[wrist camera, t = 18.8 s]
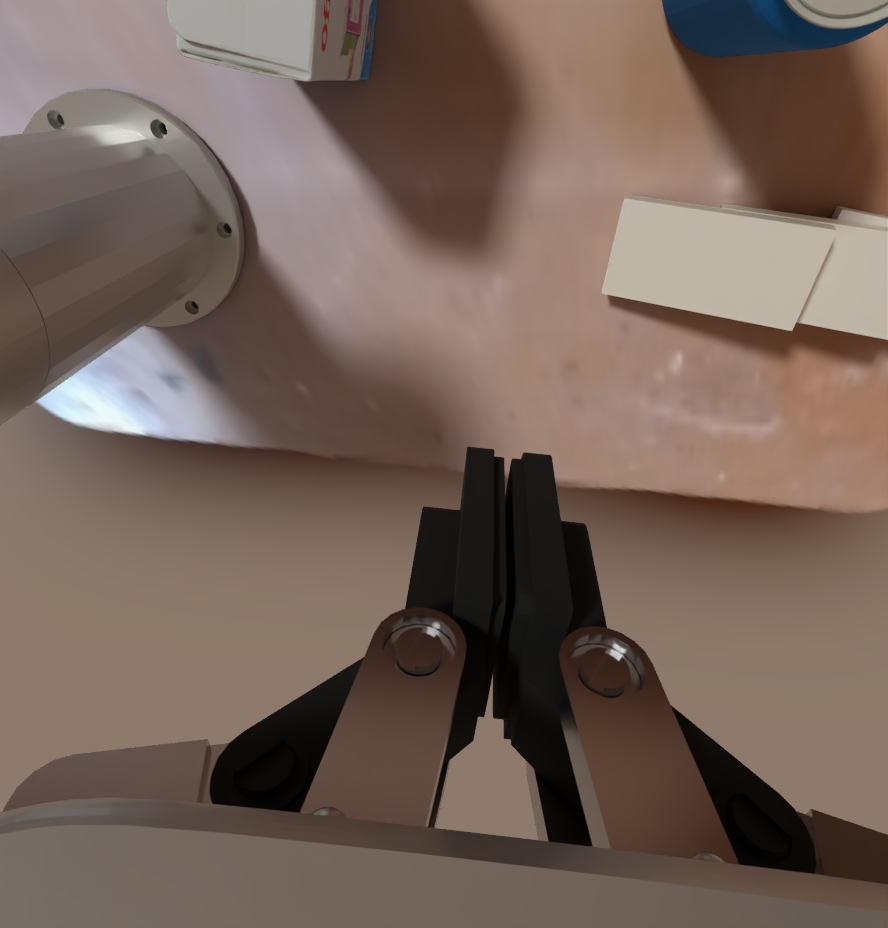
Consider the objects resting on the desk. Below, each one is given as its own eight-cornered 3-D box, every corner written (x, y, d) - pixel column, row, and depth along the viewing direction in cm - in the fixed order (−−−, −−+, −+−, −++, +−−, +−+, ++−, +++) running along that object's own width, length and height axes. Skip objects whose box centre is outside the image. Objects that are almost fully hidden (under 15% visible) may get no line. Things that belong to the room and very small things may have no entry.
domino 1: (601, 293, 32) (792, 331, 30) (624, 198, 29) (837, 230, 27) (605, 286, 34) (789, 321, 31) (628, 194, 31) (832, 224, 28)
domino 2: (690, 302, 32) (890, 340, 29) (722, 207, 29) (946, 239, 27) (691, 294, 33) (883, 330, 31) (721, 203, 31) (936, 233, 28)
